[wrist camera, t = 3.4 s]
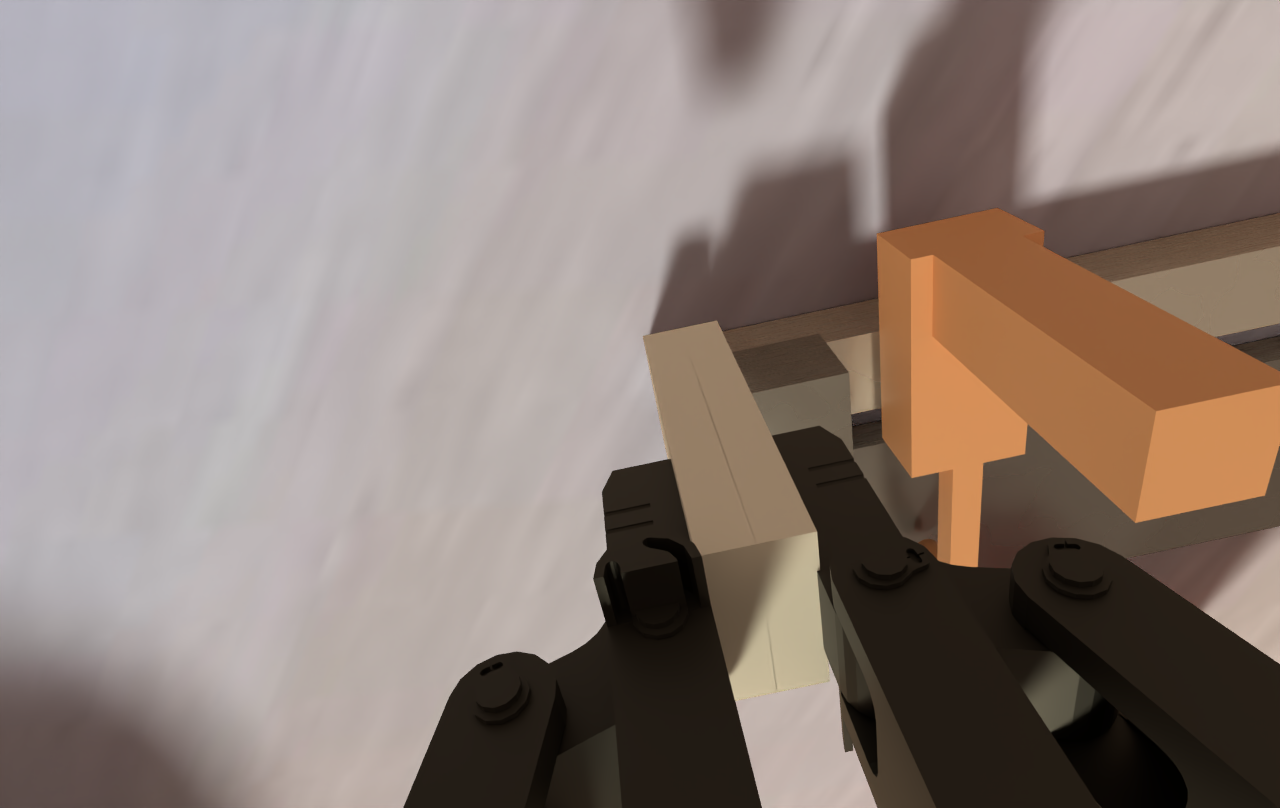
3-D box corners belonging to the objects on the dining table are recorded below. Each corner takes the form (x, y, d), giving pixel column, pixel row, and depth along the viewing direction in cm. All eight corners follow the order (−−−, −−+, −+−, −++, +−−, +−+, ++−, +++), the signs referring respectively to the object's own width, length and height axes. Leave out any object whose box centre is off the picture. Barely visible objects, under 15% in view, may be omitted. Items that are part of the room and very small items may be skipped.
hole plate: (701, 621, 27) (707, 647, 26) (669, 465, 24) (675, 488, 23) (1350, 484, 27) (1383, 505, 26) (1414, 307, 24) (1455, 322, 22)
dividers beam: (691, 570, 26) (713, 668, 22) (644, 338, 21) (663, 412, 18) (1371, 426, 26) (1510, 500, 22) (1466, 163, 21) (1660, 200, 18)
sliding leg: (880, 569, 24) (1048, 869, 16) (869, 228, 19) (1120, 418, 10) (970, 550, 24) (1185, 841, 16) (986, 202, 19) (1333, 374, 10)
